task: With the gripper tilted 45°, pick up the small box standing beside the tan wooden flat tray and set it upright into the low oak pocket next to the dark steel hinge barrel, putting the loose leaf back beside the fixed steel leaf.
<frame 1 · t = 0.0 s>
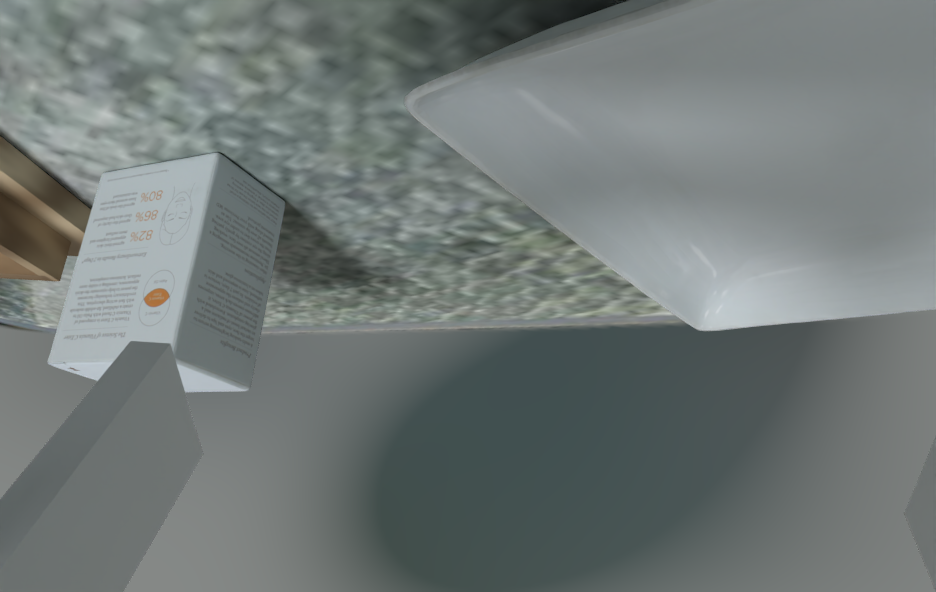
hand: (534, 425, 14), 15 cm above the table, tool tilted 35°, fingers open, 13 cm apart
small box: (197, 182, 41), on the table
square plate: (906, 100, 30), on the table
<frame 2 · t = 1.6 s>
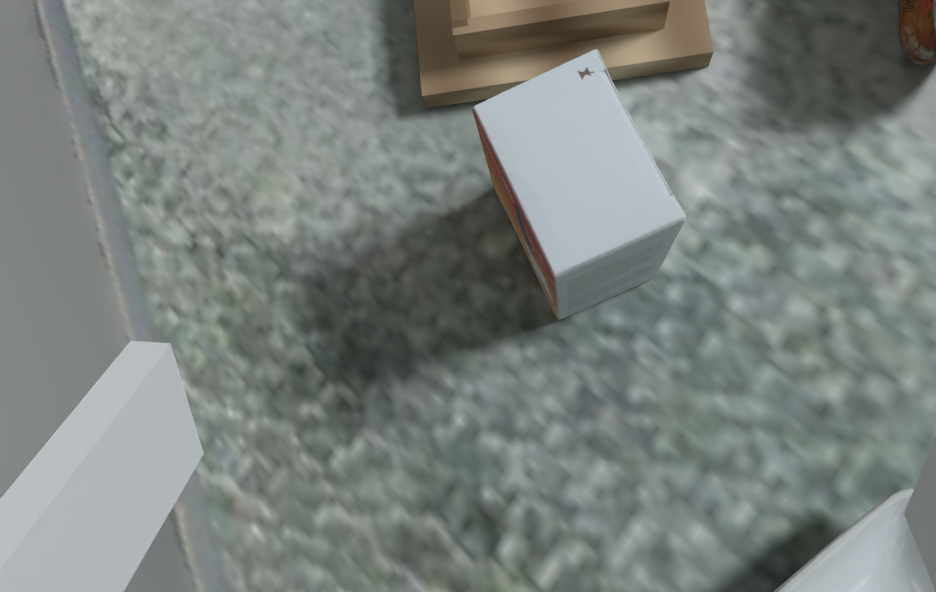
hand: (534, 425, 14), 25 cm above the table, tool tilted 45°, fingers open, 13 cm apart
small box: (574, 233, 40), on the table
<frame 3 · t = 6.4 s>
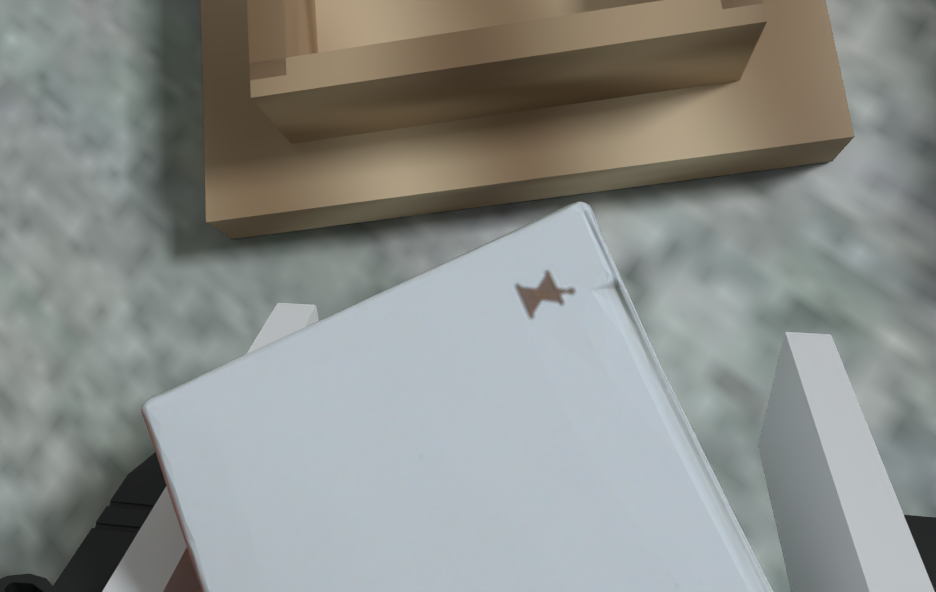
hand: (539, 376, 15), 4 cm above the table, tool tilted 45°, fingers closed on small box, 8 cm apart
small box: (536, 535, 18), on the table, touching gripper
when the fingers open (7 cm above the table, at t = 11.2 s): small box drops 2 cm, resting on tan wooden flat tray.
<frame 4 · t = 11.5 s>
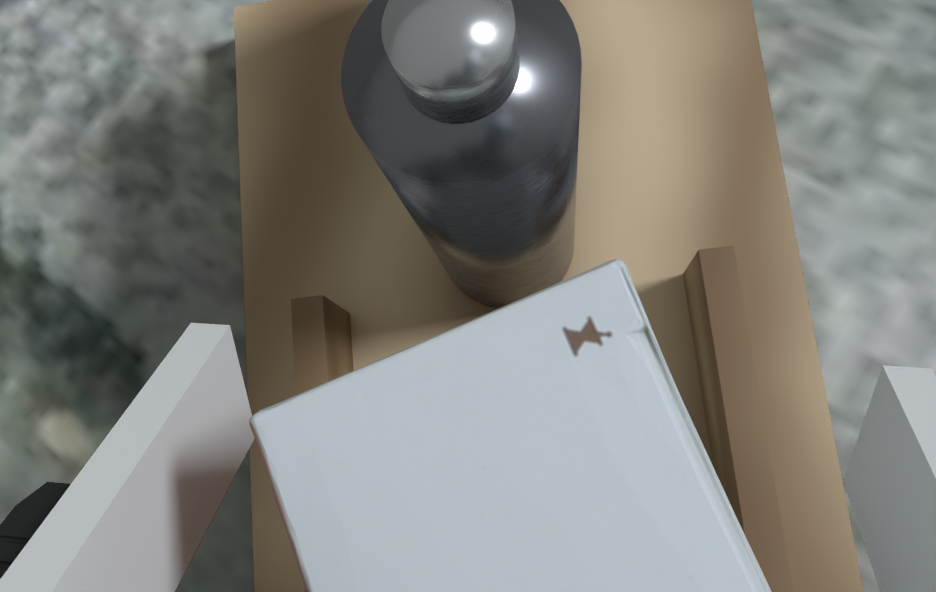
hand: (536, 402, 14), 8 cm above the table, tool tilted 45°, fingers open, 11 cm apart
small box: (554, 534, 20), point 1 cm above the table, touching tan wooden flat tray
tan wooden flat tray: (524, 377, 22), on the table
hinge leaf: (471, 23, 17), point 7 cm above the table
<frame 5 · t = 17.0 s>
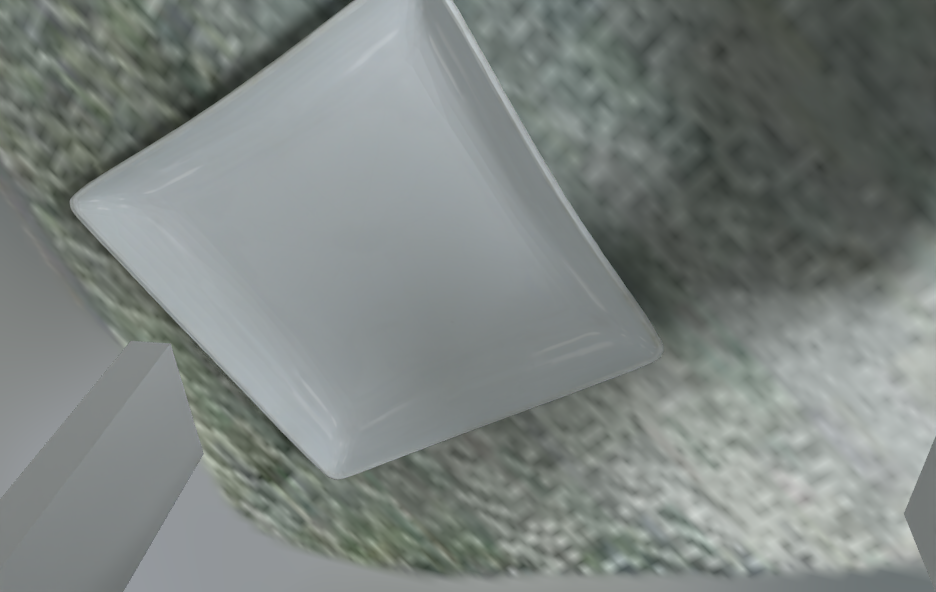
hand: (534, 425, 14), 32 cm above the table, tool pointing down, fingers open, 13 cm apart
square plate: (379, 250, 51), on the table
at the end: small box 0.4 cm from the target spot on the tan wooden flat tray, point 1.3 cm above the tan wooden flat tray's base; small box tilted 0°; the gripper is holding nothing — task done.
